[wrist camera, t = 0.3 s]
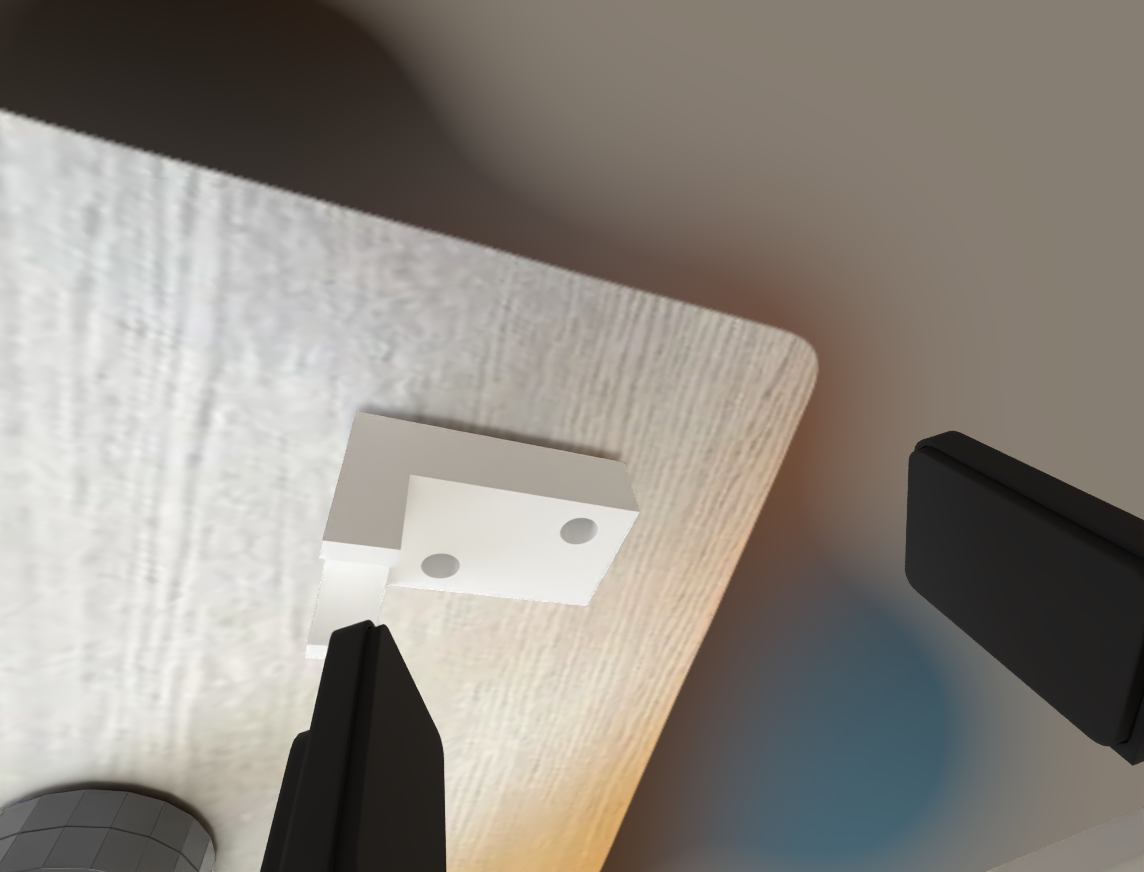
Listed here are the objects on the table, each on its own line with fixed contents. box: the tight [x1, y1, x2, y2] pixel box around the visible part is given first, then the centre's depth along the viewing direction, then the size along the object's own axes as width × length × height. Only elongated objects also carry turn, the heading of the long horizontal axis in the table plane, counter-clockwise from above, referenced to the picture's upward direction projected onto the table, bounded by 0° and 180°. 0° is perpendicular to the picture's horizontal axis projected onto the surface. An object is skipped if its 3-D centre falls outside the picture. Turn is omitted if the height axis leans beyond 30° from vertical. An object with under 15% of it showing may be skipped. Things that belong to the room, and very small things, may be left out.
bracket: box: [305, 411, 640, 659], centre depth 27 cm, size 13×7×8 cm, turn 73°
